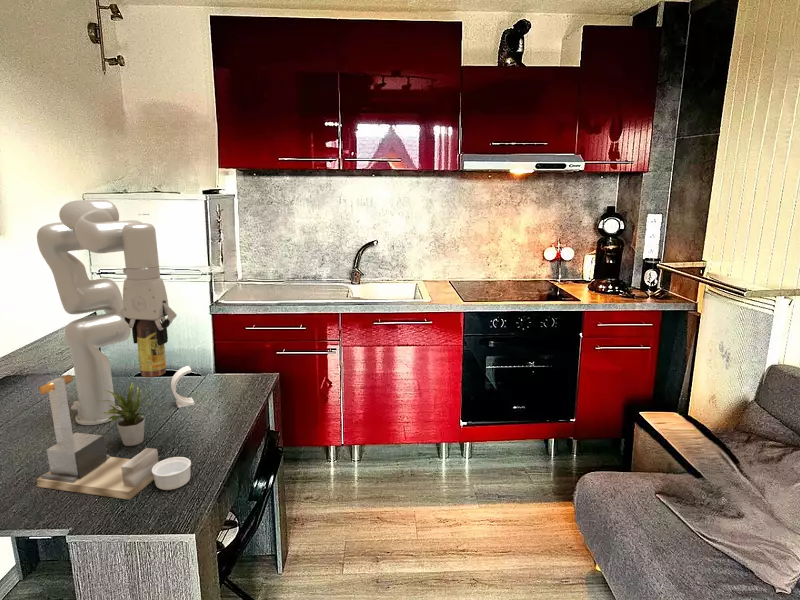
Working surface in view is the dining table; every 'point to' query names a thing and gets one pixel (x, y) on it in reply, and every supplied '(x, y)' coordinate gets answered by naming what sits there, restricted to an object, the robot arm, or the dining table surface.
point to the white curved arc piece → (180, 400)
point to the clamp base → (109, 477)
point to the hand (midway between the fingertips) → (150, 342)
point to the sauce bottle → (150, 350)
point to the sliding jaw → (70, 437)
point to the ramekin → (171, 473)
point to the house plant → (129, 417)
